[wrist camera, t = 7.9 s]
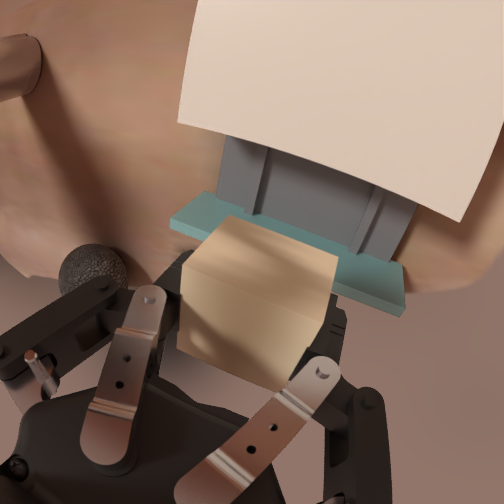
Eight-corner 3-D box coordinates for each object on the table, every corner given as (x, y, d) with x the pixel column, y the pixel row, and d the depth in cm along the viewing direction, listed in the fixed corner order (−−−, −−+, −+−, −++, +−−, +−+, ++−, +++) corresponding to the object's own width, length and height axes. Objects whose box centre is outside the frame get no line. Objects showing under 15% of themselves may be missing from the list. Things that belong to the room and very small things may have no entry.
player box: (438, 185, 22) (459, 222, 17) (221, 109, 26) (177, 122, 20) (494, 3, 12) (531, -14, 6) (262, -67, 15) (227, -101, 9)
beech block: (213, 295, 16) (176, 348, 13) (229, 214, 14) (182, 264, 10) (301, 331, 16) (279, 393, 13) (338, 257, 13) (323, 323, 10)
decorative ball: (85, 224, 40) (35, 260, 33) (137, 239, 38) (84, 285, 30) (98, 278, 46) (58, 316, 38) (147, 297, 44) (106, 343, 36)
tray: (397, 272, 27) (399, 317, 22) (203, 199, 30) (169, 228, 26) (472, 108, 17) (502, 118, 12) (233, 29, 21) (196, 20, 16)
